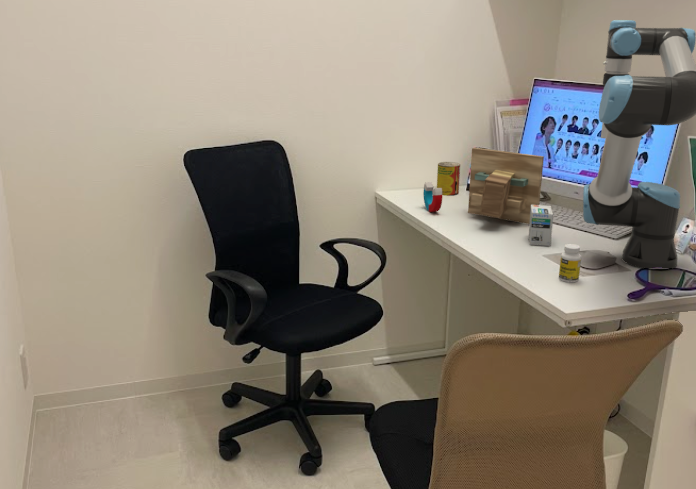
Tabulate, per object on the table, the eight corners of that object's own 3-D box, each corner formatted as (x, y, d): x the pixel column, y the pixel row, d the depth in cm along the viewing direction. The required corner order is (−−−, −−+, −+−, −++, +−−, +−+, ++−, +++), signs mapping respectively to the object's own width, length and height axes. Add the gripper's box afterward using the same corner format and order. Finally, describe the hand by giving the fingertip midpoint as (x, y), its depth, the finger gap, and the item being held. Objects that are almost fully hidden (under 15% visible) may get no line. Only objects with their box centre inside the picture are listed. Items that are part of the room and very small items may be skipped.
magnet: (422, 207, 266) (423, 181, 262) (429, 206, 266) (430, 181, 263) (434, 215, 255) (435, 189, 252) (441, 215, 256) (443, 188, 253)
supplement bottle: (555, 280, 194) (559, 246, 191) (561, 274, 199) (565, 241, 196) (575, 284, 192) (579, 250, 188) (581, 278, 196) (585, 245, 193)
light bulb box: (550, 246, 222) (554, 214, 219) (528, 245, 224) (531, 212, 220) (548, 236, 232) (551, 205, 229) (527, 235, 234) (530, 204, 230)
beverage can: (446, 196, 281) (448, 167, 277) (432, 192, 288) (433, 163, 284) (463, 193, 286) (465, 164, 282) (448, 189, 293) (450, 161, 289)
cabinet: (499, 218, 235) (505, 183, 230) (479, 214, 237) (484, 180, 233) (509, 205, 248) (514, 173, 244) (489, 202, 251) (494, 169, 246)
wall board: (528, 229, 239) (534, 160, 232) (460, 216, 254) (463, 151, 246) (540, 221, 248) (547, 154, 240) (474, 209, 263) (478, 146, 255)
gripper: (598, 69, 227) (591, 134, 234) (610, 76, 204) (601, 148, 211) (622, 69, 226) (614, 135, 233) (637, 76, 203) (628, 149, 209)
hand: (608, 141), depth 222 cm, fingers open, 13 cm apart
